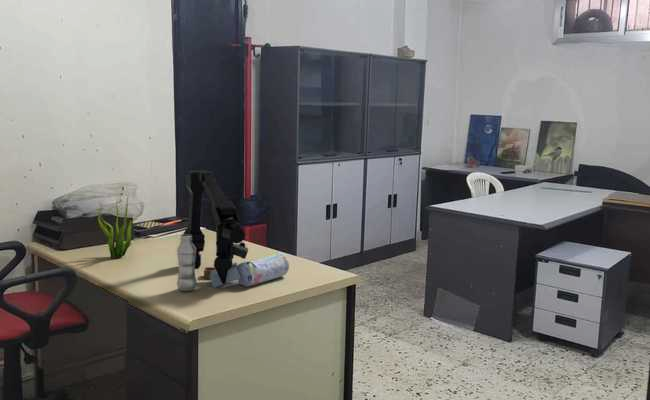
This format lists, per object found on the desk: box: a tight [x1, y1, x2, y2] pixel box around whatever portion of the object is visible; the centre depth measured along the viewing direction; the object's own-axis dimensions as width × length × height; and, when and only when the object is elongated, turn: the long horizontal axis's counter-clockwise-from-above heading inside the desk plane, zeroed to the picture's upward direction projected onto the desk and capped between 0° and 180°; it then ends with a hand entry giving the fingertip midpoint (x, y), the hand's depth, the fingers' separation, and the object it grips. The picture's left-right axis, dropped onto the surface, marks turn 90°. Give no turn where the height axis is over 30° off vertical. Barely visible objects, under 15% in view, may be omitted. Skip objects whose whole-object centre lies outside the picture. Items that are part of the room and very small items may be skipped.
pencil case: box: [237, 252, 290, 287], centre depth 226 cm, size 21×9×10 cm, turn 139°
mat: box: [206, 280, 242, 289], centre depth 221 cm, size 12×8×1 cm, turn 96°
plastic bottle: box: [176, 233, 197, 292], centre depth 212 cm, size 6×7×20 cm
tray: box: [203, 266, 215, 280], centre depth 231 cm, size 16×5×3 cm, turn 96°
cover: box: [209, 261, 240, 287], centre depth 220 cm, size 10×7×4 cm
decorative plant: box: [97, 193, 143, 259], centre depth 255 cm, size 18×30×15 cm
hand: (224, 279), depth 220 cm, fingers open, 9 cm apart
